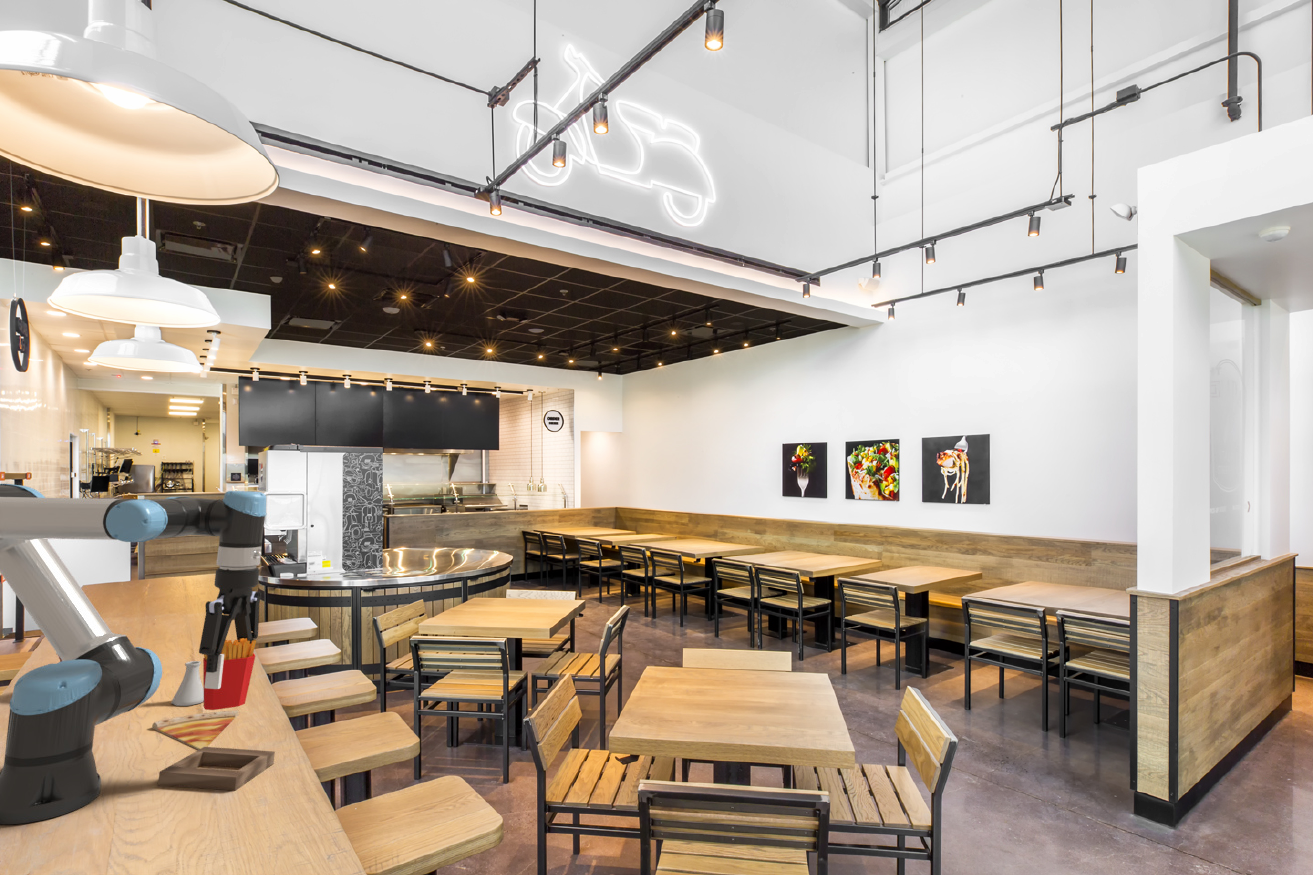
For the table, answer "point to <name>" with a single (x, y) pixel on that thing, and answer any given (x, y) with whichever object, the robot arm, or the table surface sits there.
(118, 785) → the table surface
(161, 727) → the pizza slice
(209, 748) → the fry holder
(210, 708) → the french fries
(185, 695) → the flask
